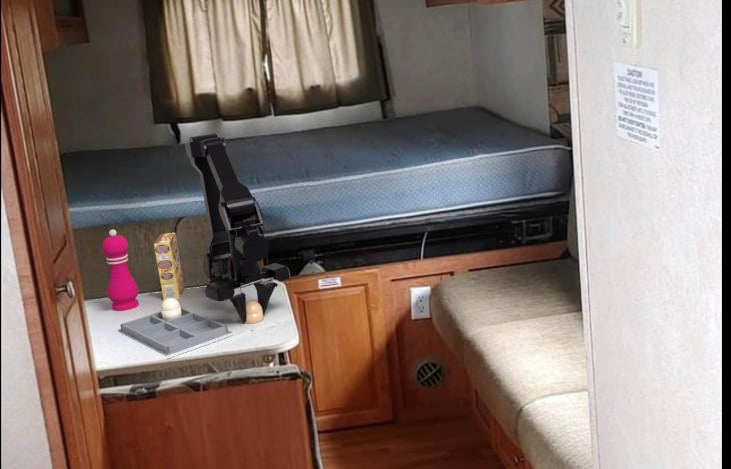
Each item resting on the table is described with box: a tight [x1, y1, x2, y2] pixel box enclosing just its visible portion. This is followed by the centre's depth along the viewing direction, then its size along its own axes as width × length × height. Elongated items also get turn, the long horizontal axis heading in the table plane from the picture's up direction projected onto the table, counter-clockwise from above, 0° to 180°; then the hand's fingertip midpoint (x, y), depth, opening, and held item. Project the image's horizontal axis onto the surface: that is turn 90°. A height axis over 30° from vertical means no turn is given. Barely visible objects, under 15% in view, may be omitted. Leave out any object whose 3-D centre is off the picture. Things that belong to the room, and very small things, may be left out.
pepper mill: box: [101, 228, 140, 312], centre depth 227 cm, size 7×7×20 cm
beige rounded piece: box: [243, 300, 264, 326], centre depth 211 cm, size 4×4×5 cm
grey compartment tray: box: [117, 306, 234, 360], centre depth 209 cm, size 16×23×2 cm
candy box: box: [153, 232, 185, 301], centre depth 233 cm, size 9×4×15 cm, turn 2°
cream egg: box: [160, 298, 182, 321], centre depth 216 cm, size 4×4×5 cm
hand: (253, 318), depth 211 cm, fingers closed on beige rounded piece, 4 cm apart
